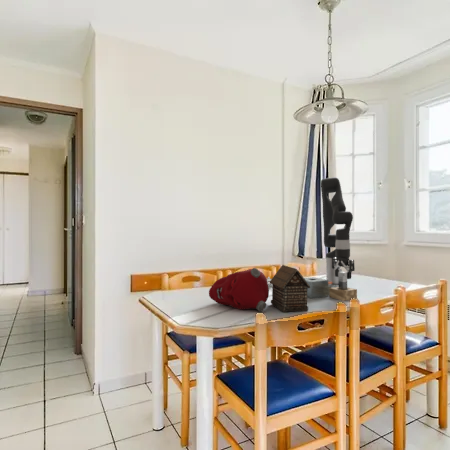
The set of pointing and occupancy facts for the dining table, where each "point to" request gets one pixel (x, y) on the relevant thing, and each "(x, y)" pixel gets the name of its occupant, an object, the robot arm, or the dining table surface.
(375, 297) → the dining table surface
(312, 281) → the grey tissue box
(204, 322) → the dining table surface
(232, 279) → the mask
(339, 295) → the brown square box
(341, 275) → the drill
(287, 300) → the model building
